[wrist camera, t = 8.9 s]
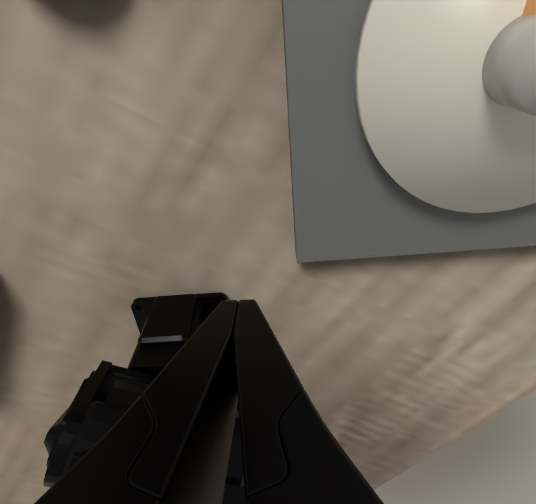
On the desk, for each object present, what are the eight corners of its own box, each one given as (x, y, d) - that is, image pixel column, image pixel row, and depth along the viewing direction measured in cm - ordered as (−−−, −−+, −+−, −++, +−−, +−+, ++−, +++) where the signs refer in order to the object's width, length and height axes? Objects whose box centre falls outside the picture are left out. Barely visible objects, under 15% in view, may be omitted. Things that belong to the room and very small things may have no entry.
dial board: (624, 225, 23) (650, 240, 21) (295, 250, 24) (297, 265, 22) (866, -308, 12) (951, -355, 11) (269, -231, 13) (269, -266, 12)
